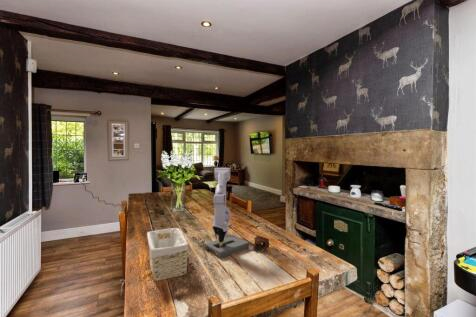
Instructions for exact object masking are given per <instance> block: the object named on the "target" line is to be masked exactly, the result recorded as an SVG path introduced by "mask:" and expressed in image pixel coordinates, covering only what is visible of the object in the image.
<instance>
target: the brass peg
mask: <svg viewBox="0 0 476 317" xmlns="http://www.w3.org/2000/svg"><path fill="white" fill-rule="evenodd" d="M215 240H216V241H217V242H218V243H219V247H217V248H218V249H219V248H222V247H224V246H223V242H225V237H224V241H223V242H219V236H218V234H216V236H215Z"/></svg>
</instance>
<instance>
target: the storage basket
mask: <svg viewBox="0 0 476 317" xmlns="http://www.w3.org/2000/svg"><path fill="white" fill-rule="evenodd" d="M165 235H166V236H167V235H169V237H167V238H162V239H161V238H160V237H159V236H165ZM146 236H147V243H148V249H149V250H148V251H149V253H148V254H149V265H150V271H151V275H152V277H153V280H154V281H155V282H158V281H163V280H166V279H172V278H176V277H182V276H183V275H187V273H188V272H187V271H188V270H187V269H188V268H187V267H188V250H189V243H188V241H187V239H186V237H185V236H184V234H183V232H182V230H181V229H180V228H178V227H173V228H164V229H157V230H151V231H150V230H149V231H147V233H146Z"/></svg>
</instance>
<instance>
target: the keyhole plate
mask: <svg viewBox="0 0 476 317" xmlns="http://www.w3.org/2000/svg"><path fill="white" fill-rule="evenodd" d="M217 247H219V243H218V242H217V241H216V239H215V240H213V241H209V242H206V243H204V251H206V252H208V251H214V252H215V253H216V254H217V255H216V256H217V259H219V260H222V259H224V258H227V257H229V256H232V255H234V254H238V253H241V252H242V251H246V250H249V249H248V248H249V241H246V240H244V239H242V238H241V237H238V236H236V235H233V234H232V235H231V236H228V237H225V242H223V247H222V248H219V249H218V248H217Z"/></svg>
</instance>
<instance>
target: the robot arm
mask: <svg viewBox="0 0 476 317" xmlns="http://www.w3.org/2000/svg"><path fill="white" fill-rule="evenodd" d="M213 171H214V179H215V181H217V184H216V186H215V190H214V191H215V192H214V194H213V199H212V200H213V208H214V217H213V218H214V219H213V220H212V227H211V228H212V229H213V233H212V235H213V236H214V237H216V234H218V236H219V242H223V241H224V237H229V236H232V235H231V234H230V233H229V222H230V221H231V210H230V208H229V207H228V206H227V182H228V181H230V179H231V168H230V167H215V168H214V170H213Z"/></svg>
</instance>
